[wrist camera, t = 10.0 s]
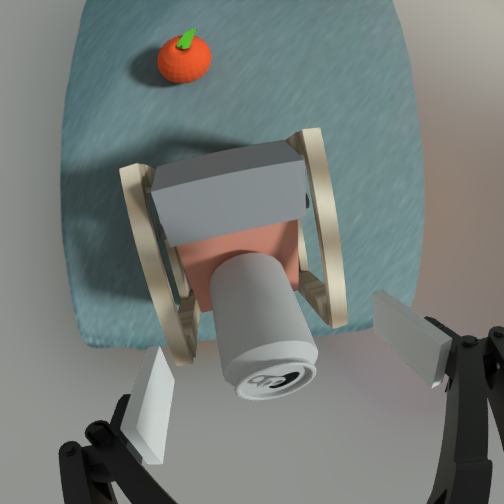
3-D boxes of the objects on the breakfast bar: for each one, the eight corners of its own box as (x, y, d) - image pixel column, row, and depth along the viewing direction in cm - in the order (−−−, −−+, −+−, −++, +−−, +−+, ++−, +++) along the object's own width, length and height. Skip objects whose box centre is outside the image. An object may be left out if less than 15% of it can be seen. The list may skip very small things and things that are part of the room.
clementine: (175, 41, 30) (169, 15, 23) (221, 50, 31) (222, 24, 24) (154, 85, 31) (142, 65, 25) (201, 95, 33) (198, 75, 26)
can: (250, 309, 31) (277, 407, 22) (193, 287, 27) (206, 400, 18) (297, 265, 28) (343, 367, 19) (240, 233, 24) (276, 353, 15)
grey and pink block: (146, 169, 22) (137, 195, 18) (294, 138, 23) (317, 157, 19) (191, 295, 32) (194, 329, 28) (298, 270, 33) (313, 301, 29)
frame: (155, 178, 34) (116, 169, 20) (281, 151, 36) (322, 127, 21) (187, 305, 38) (174, 366, 24) (304, 278, 40) (349, 323, 25)
